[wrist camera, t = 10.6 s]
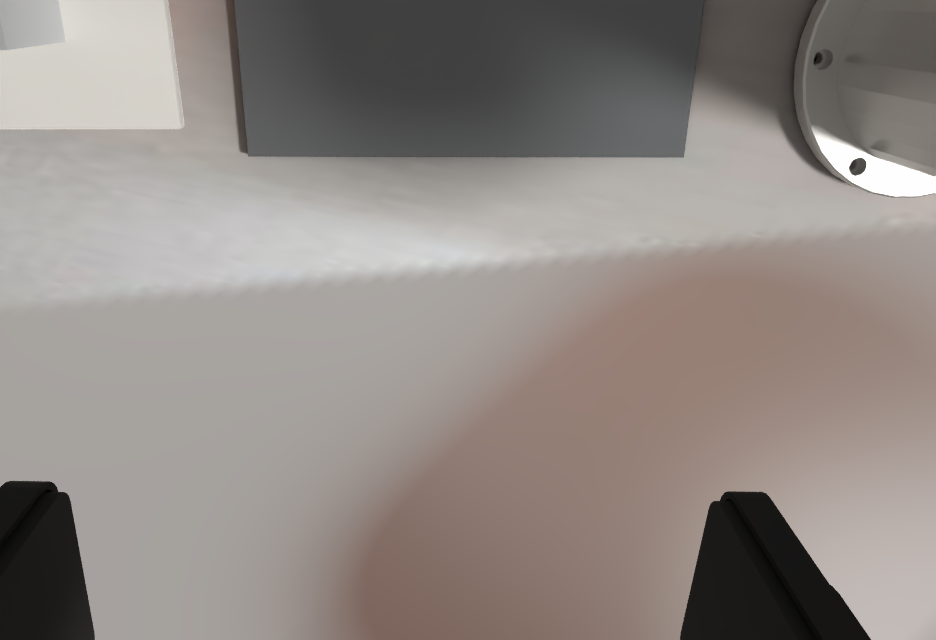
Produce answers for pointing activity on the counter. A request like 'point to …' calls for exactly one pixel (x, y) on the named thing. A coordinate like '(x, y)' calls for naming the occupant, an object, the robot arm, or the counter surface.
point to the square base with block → (88, 65)
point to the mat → (467, 77)
